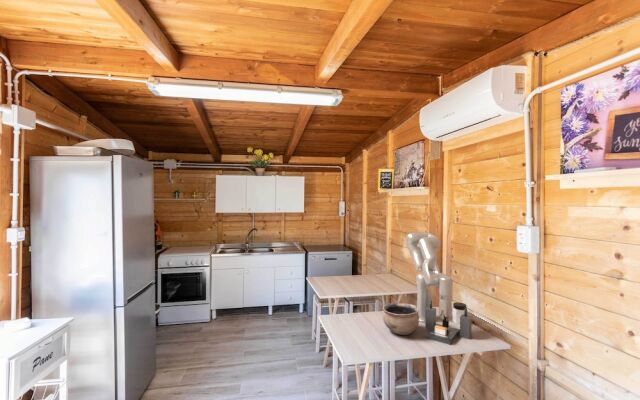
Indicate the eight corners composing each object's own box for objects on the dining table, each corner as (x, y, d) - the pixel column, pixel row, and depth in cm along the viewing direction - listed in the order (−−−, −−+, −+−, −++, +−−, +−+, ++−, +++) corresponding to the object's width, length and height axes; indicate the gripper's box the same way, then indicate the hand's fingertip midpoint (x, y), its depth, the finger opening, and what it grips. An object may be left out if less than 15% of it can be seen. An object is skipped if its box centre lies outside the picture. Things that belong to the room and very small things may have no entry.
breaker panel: (425, 337, 187) (425, 332, 187) (436, 328, 201) (436, 323, 201) (450, 344, 178) (450, 339, 178) (460, 334, 192) (460, 329, 192)
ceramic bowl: (421, 341, 182) (421, 315, 182) (382, 338, 186) (382, 312, 186) (417, 326, 204) (417, 303, 204) (382, 323, 208) (382, 300, 208)
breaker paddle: (434, 332, 187) (434, 326, 187) (436, 331, 189) (436, 325, 189) (445, 335, 183) (445, 329, 183) (446, 334, 185) (446, 327, 185)
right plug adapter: (459, 336, 188) (460, 307, 188) (462, 334, 192) (462, 305, 192) (468, 339, 185) (469, 309, 185) (471, 336, 189) (471, 307, 189)
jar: (452, 323, 209) (452, 305, 209) (452, 319, 216) (452, 301, 216) (467, 325, 205) (467, 307, 205) (466, 321, 213) (466, 303, 213)
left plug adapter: (425, 327, 202) (425, 300, 202) (428, 325, 206) (428, 298, 206) (433, 329, 199) (433, 302, 199) (436, 327, 203) (436, 300, 203)
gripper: (443, 293, 201) (443, 321, 201) (435, 298, 190) (434, 329, 190) (456, 295, 196) (455, 324, 197) (447, 301, 185) (447, 332, 185)
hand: (445, 326), depth 193 cm, fingers closed
